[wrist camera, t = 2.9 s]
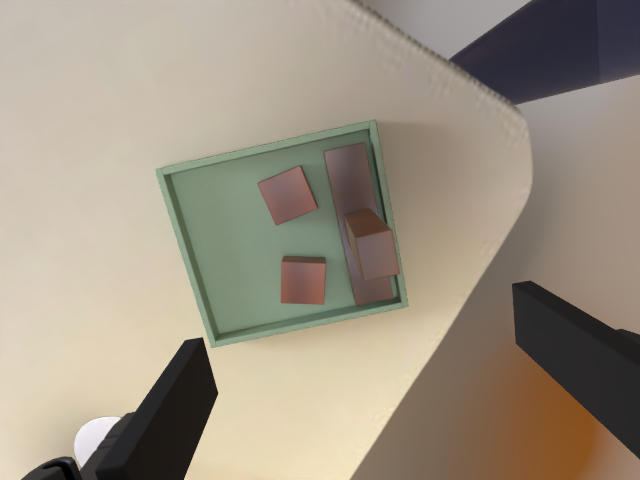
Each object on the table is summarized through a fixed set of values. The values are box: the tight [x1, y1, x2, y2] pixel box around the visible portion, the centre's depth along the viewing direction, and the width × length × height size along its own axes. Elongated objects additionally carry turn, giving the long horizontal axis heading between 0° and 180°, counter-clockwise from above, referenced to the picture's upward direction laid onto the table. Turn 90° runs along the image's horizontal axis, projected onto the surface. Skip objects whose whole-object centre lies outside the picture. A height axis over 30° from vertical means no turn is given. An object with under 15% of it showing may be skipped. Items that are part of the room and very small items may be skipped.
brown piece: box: [323, 142, 400, 306], centre depth 29 cm, size 4×14×12 cm, turn 12°
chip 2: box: [281, 256, 326, 305], centre depth 34 cm, size 4×4×2 cm
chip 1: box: [257, 165, 318, 226], centre depth 33 cm, size 4×4×2 cm
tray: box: [155, 120, 408, 348], centre depth 34 cm, size 19×17×2 cm
